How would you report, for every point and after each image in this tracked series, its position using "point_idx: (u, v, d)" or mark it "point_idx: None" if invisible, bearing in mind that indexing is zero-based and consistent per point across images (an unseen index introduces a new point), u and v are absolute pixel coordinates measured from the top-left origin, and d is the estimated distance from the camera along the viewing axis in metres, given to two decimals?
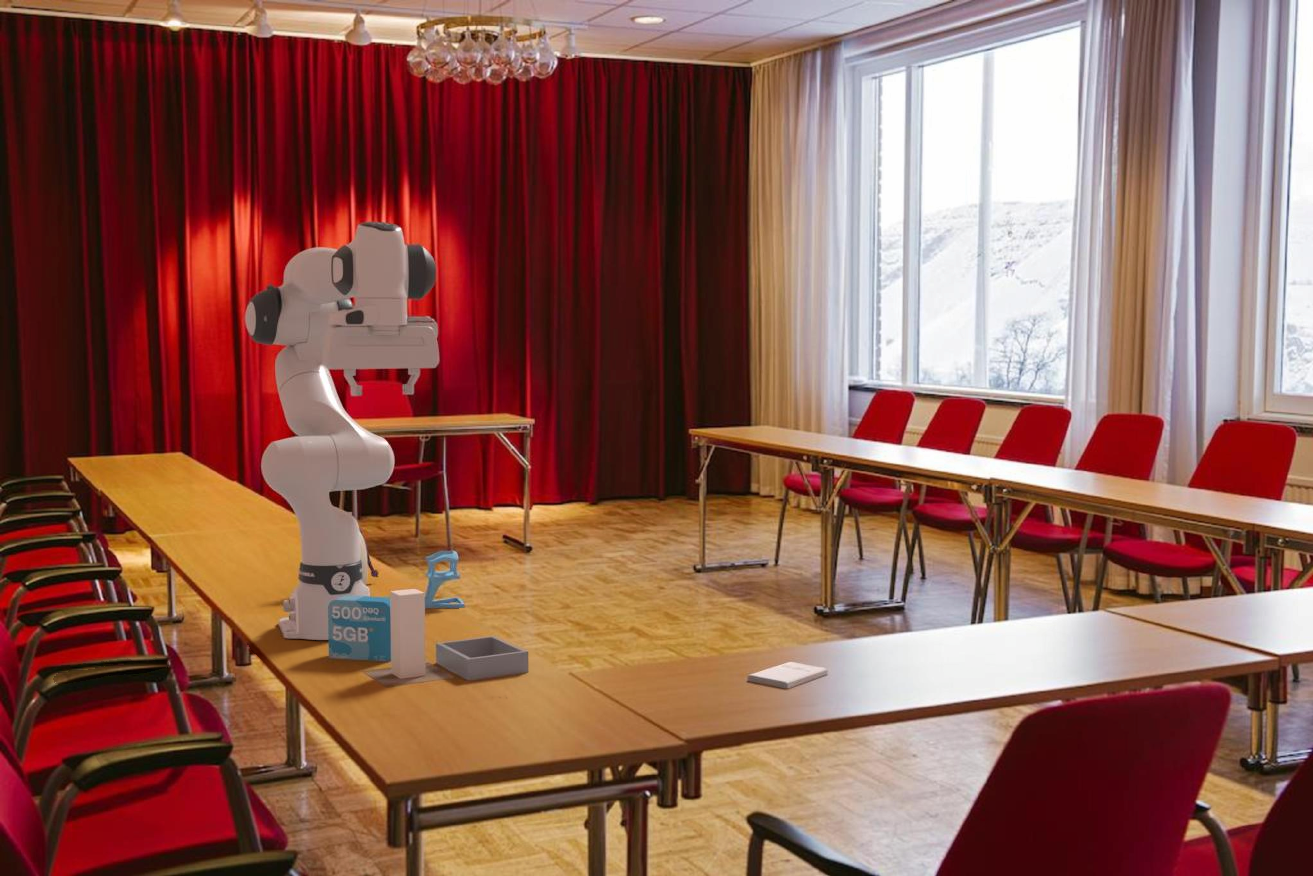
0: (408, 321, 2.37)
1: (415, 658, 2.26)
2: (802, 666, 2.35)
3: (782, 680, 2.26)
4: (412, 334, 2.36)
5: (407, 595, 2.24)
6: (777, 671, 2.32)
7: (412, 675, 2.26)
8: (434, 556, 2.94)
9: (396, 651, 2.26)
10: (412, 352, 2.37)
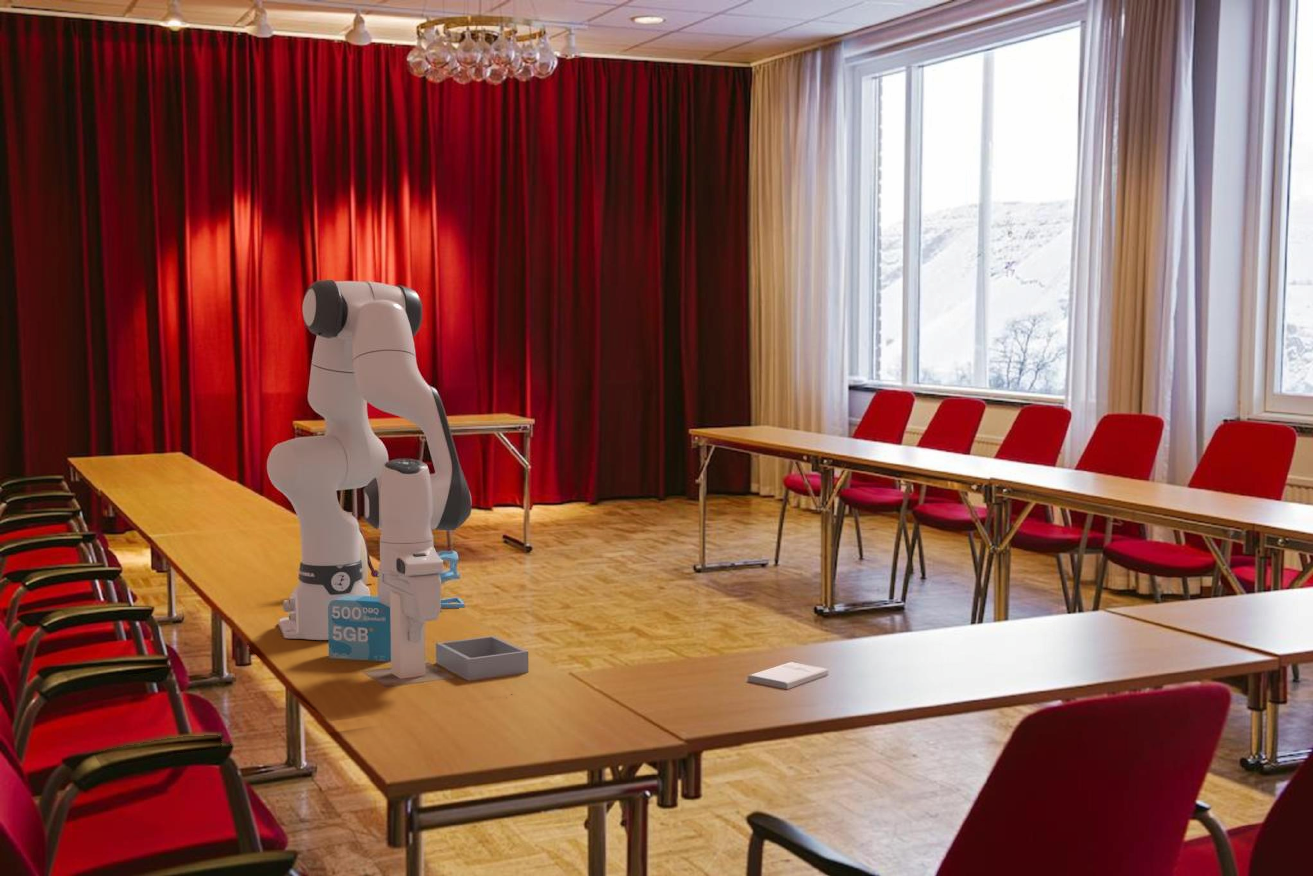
0: None
1: (415, 658, 2.26)
2: (803, 666, 2.35)
3: (782, 680, 2.25)
4: None
5: None
6: (777, 671, 2.31)
7: (412, 675, 2.26)
8: None
9: (396, 651, 2.26)
10: None
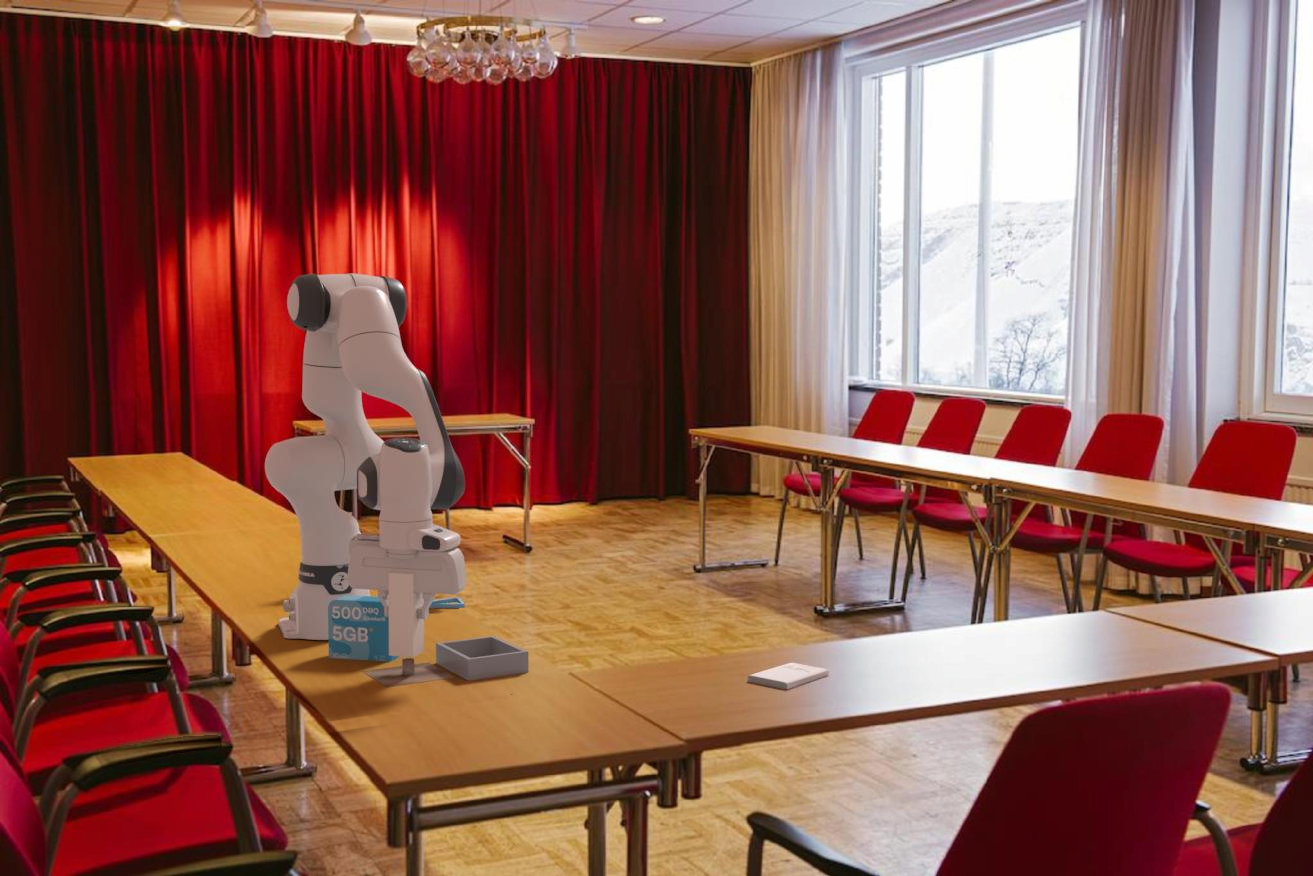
0: None
1: (419, 635, 2.27)
2: (803, 667, 2.35)
3: (782, 680, 2.25)
4: None
5: None
6: (777, 672, 2.31)
7: (418, 652, 2.27)
8: None
9: (403, 631, 2.25)
10: None
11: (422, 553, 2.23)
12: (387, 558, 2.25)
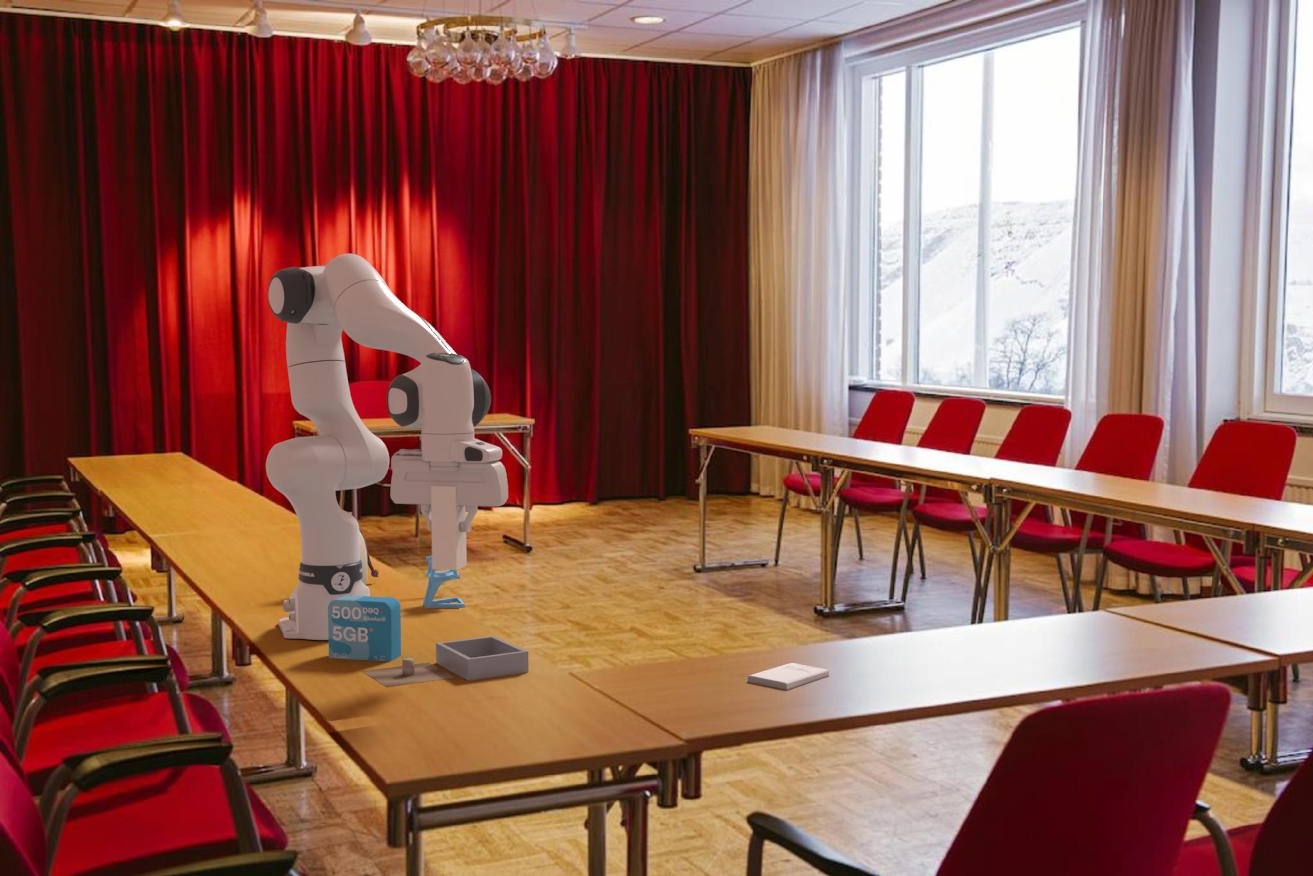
0: None
1: (462, 549, 2.29)
2: (803, 667, 2.35)
3: (782, 681, 2.25)
4: None
5: None
6: (778, 672, 2.31)
7: (461, 566, 2.28)
8: None
9: (446, 544, 2.26)
10: None
11: (465, 465, 2.24)
12: (430, 472, 2.27)
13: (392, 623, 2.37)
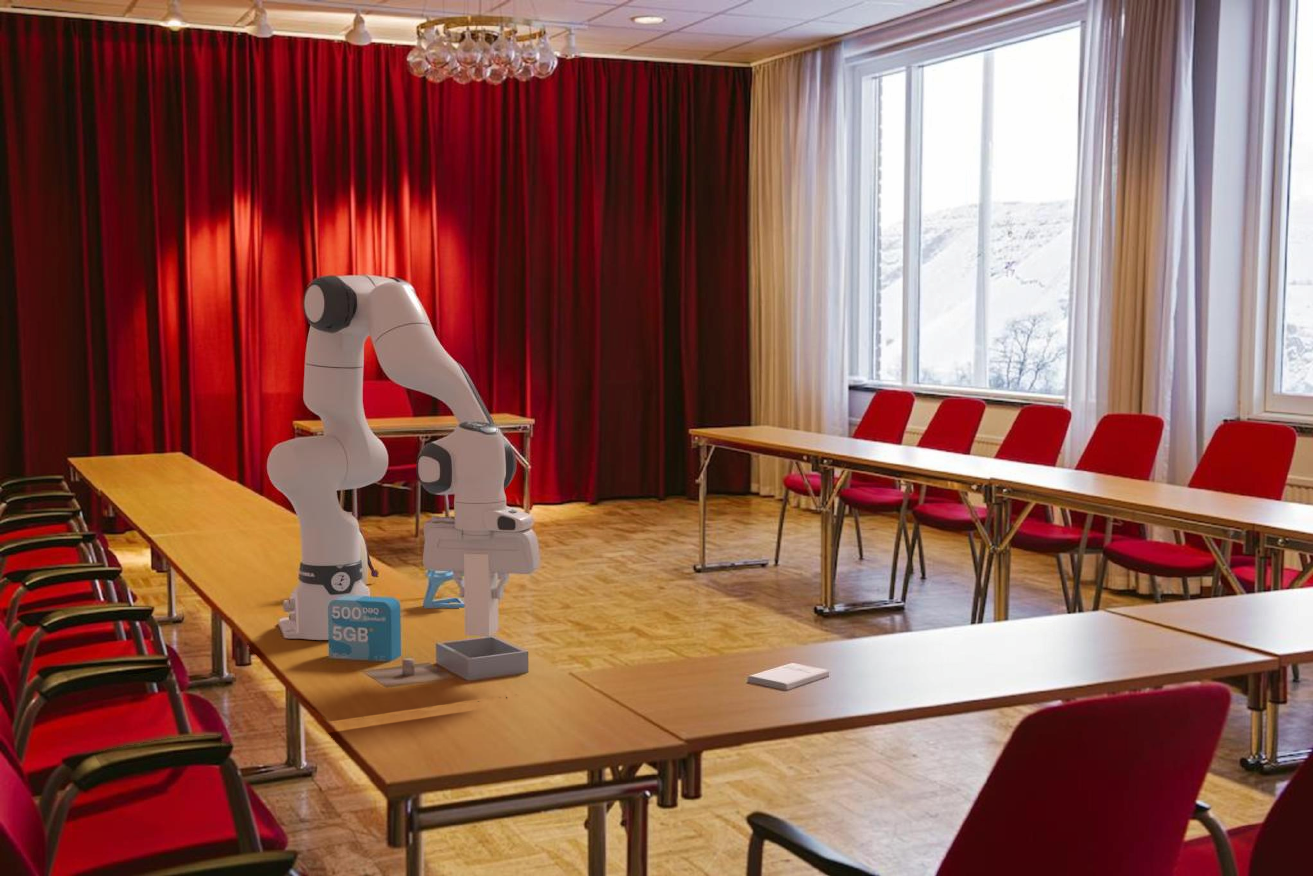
0: None
1: (494, 615, 2.32)
2: (804, 667, 2.34)
3: (781, 681, 2.25)
4: None
5: None
6: (778, 672, 2.31)
7: (493, 632, 2.31)
8: None
9: (479, 611, 2.29)
10: None
11: (497, 534, 2.27)
12: (462, 539, 2.30)
13: (392, 623, 2.37)
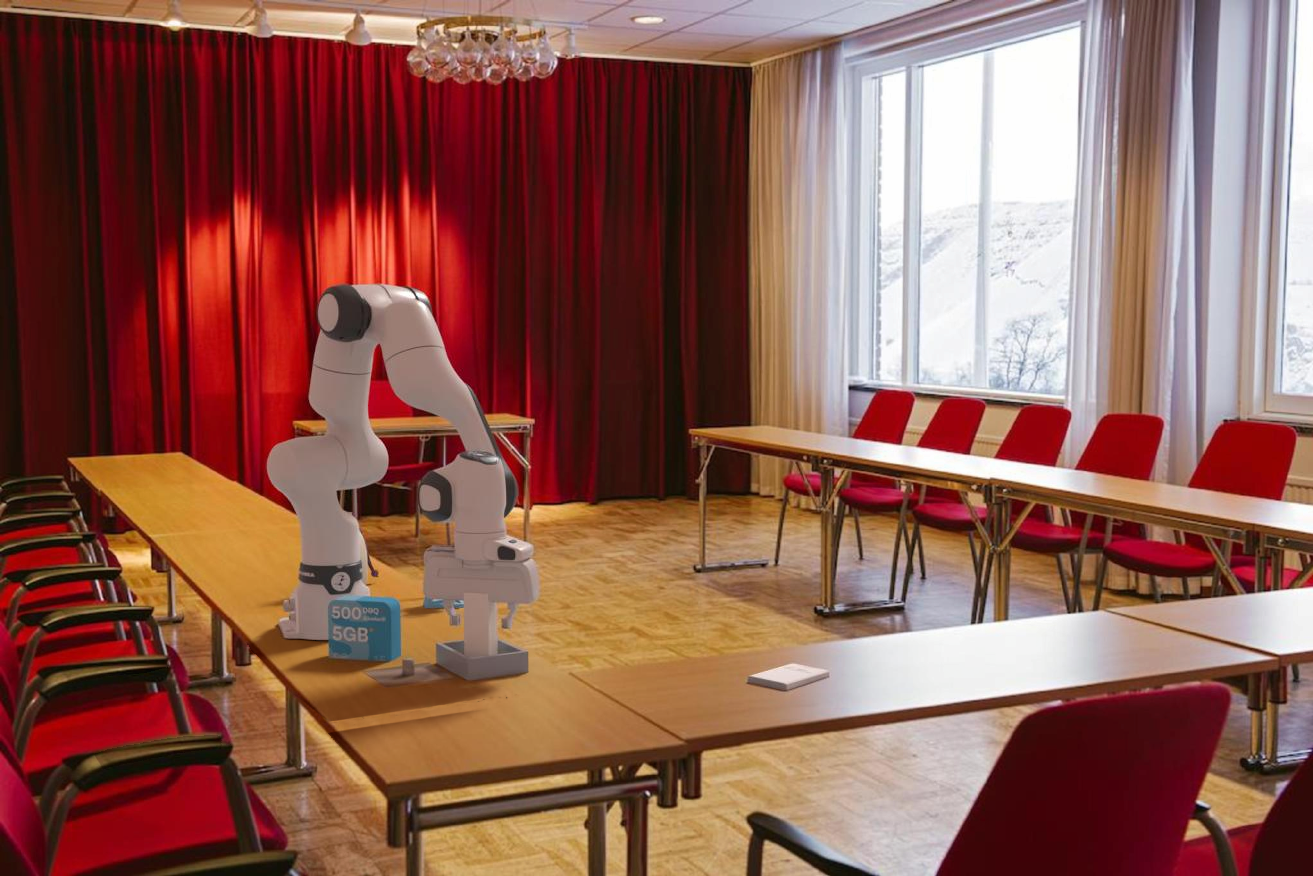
0: (455, 551, 2.33)
1: (494, 653, 2.32)
2: (804, 668, 2.34)
3: (781, 681, 2.24)
4: None
5: None
6: (778, 672, 2.31)
7: None
8: None
9: (479, 650, 2.30)
10: None
11: (497, 563, 2.27)
12: (462, 569, 2.30)
13: (392, 623, 2.37)
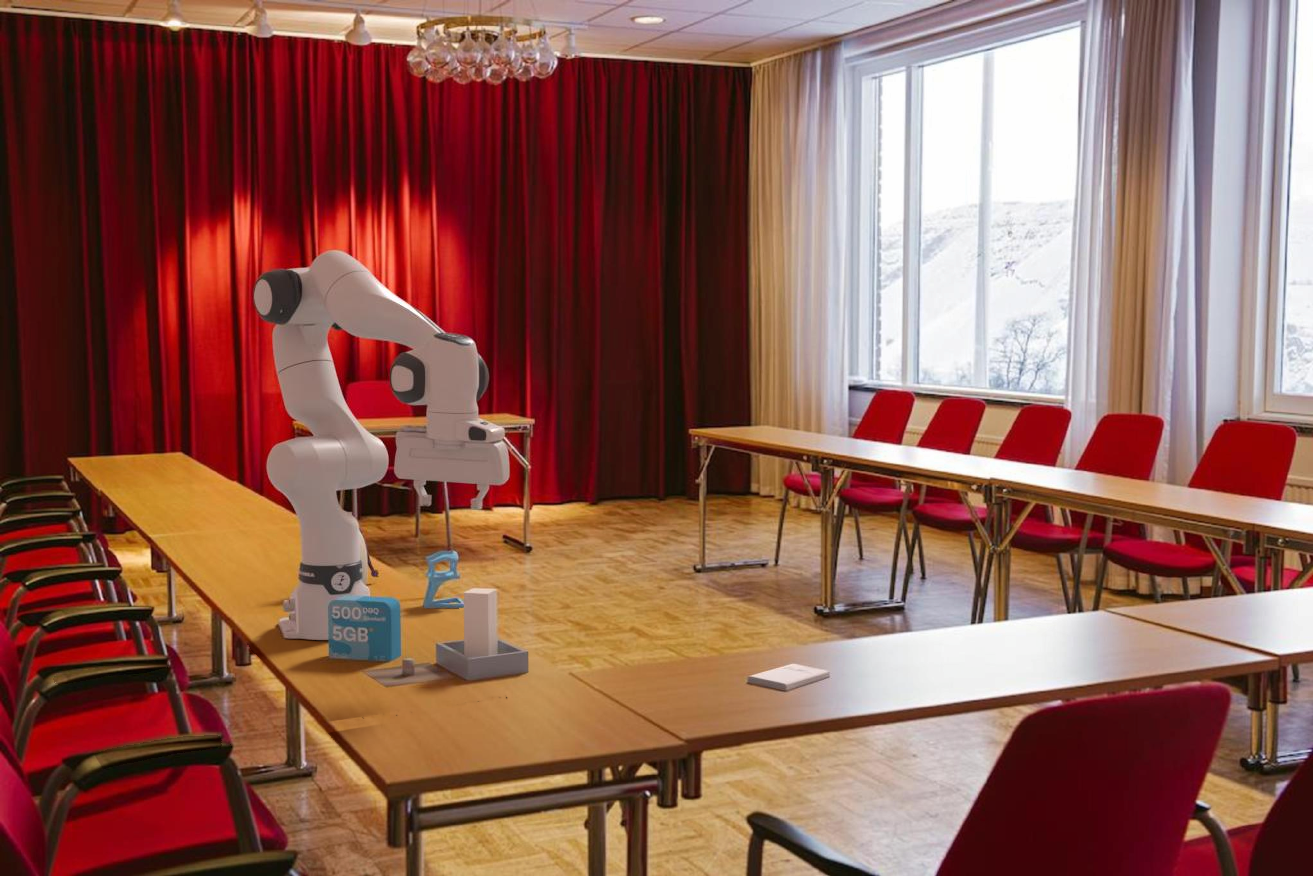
0: None
1: (494, 653, 2.32)
2: (804, 668, 2.34)
3: (781, 682, 2.24)
4: None
5: (490, 593, 2.30)
6: (778, 673, 2.30)
7: None
8: (434, 556, 2.94)
9: (479, 650, 2.30)
10: None
11: (468, 444, 2.30)
12: (433, 449, 2.32)
13: (392, 623, 2.37)
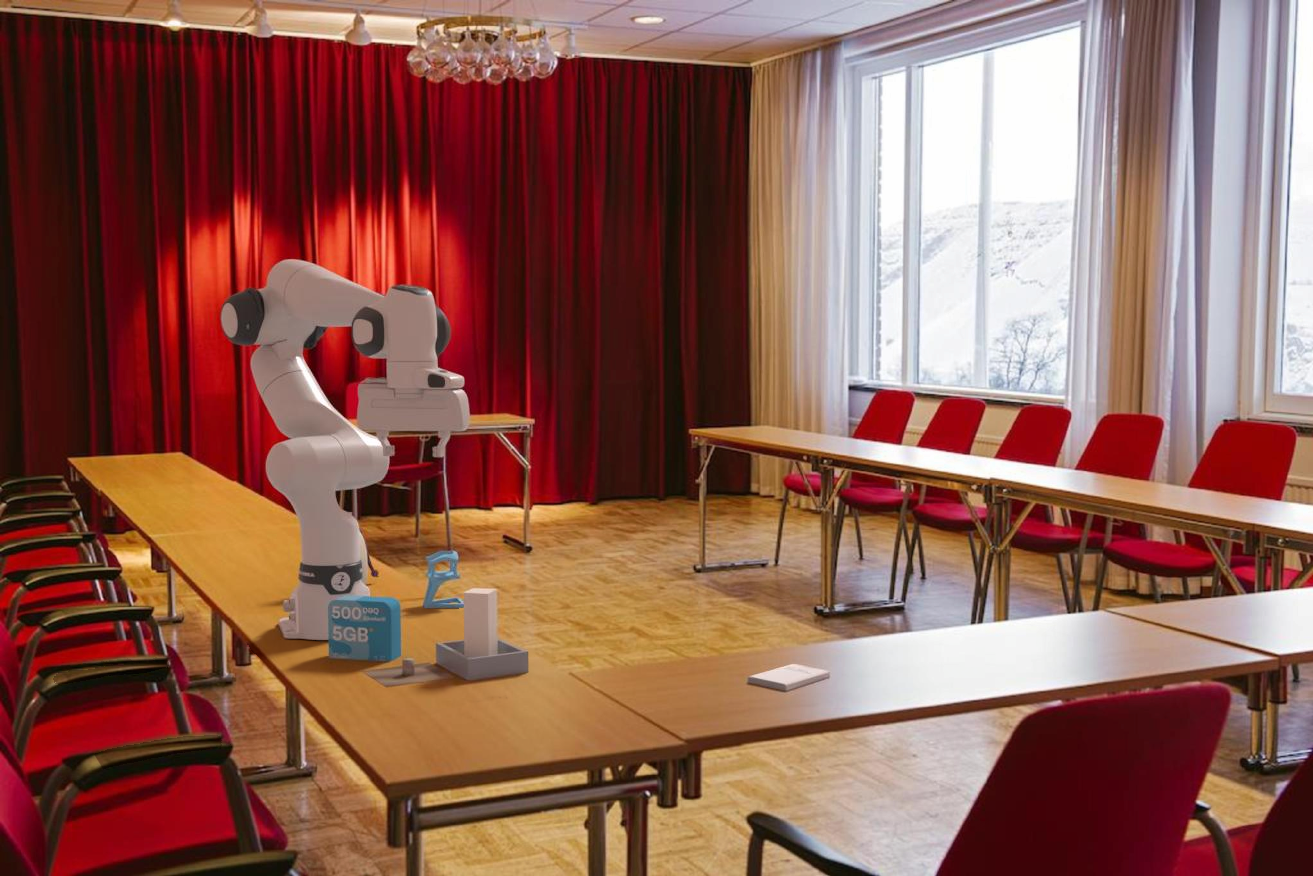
0: None
1: (494, 653, 2.32)
2: (804, 668, 2.34)
3: (781, 682, 2.24)
4: None
5: (490, 593, 2.30)
6: (778, 673, 2.30)
7: None
8: (434, 556, 2.94)
9: (479, 650, 2.30)
10: None
11: (428, 391, 2.34)
12: (394, 399, 2.37)
13: (392, 623, 2.37)
